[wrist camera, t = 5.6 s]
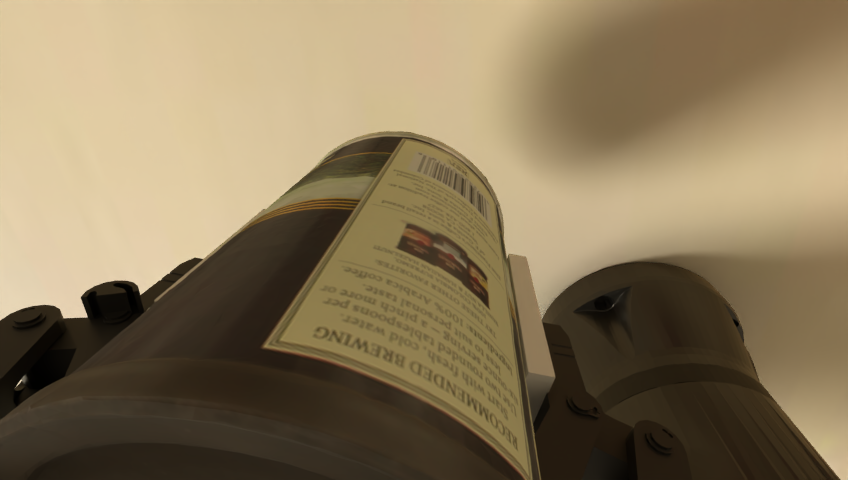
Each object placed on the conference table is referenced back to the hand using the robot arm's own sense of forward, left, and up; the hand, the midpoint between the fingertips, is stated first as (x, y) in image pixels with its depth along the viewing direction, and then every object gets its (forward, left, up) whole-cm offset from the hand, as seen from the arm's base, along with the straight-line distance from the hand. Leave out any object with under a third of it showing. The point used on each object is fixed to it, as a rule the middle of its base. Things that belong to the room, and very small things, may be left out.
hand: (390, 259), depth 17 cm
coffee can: (0, 0, -3) cm, 3 cm away
